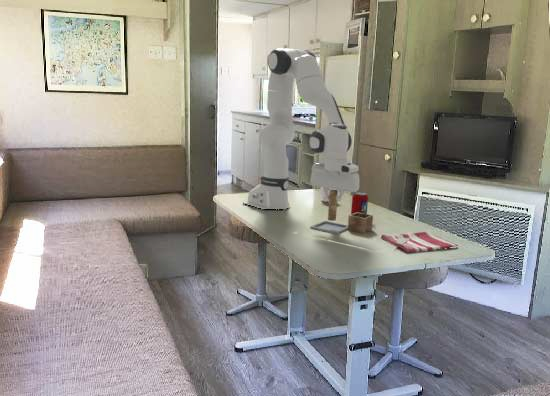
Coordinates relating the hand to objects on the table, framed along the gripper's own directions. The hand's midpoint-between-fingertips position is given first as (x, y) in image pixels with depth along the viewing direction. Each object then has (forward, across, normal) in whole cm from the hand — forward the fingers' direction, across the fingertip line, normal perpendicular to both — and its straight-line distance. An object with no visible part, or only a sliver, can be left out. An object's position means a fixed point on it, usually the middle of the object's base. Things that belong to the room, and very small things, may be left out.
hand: (333, 199), depth 200 cm
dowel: (+8, 0, 0) cm, 8 cm away
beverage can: (+12, +2, +22) cm, 25 cm away
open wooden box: (+12, +10, +6) cm, 17 cm away
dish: (+12, 0, 0) cm, 12 cm away
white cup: (+12, -26, +46) cm, 54 cm away
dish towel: (+14, +34, +6) cm, 37 cm away
